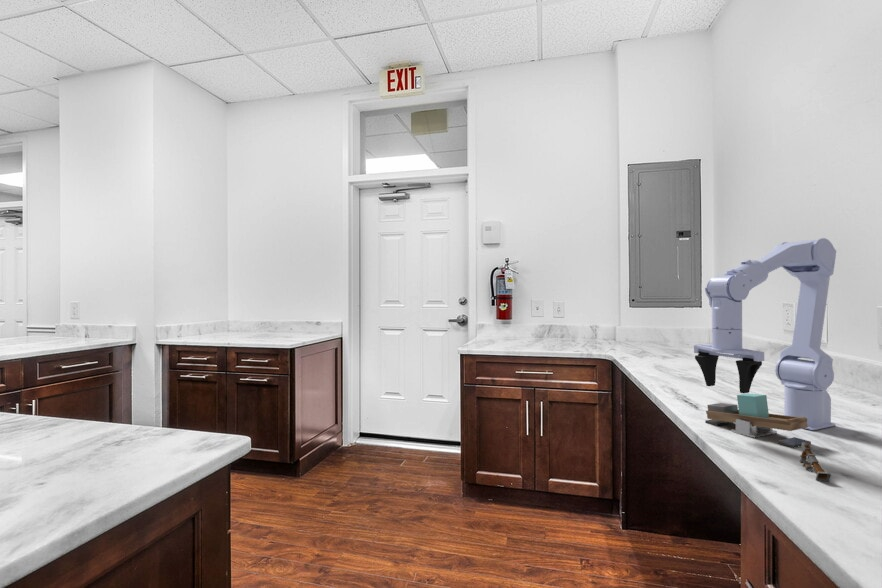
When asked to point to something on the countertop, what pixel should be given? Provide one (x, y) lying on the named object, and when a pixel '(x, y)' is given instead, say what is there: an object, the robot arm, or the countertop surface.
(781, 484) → the countertop surface
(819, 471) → the wooden post with brackets
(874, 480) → the countertop surface
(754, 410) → the block
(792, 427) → the beam
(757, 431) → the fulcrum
